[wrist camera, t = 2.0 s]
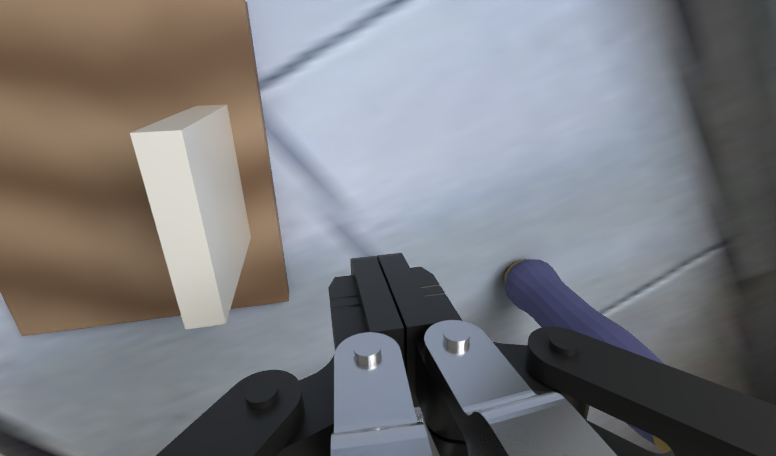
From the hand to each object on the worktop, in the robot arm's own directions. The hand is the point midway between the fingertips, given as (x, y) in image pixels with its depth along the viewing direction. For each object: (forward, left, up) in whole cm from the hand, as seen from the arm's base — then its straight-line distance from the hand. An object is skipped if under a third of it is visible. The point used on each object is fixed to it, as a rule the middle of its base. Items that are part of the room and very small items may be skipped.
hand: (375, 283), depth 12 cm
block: (0, -6, -14) cm, 15 cm away
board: (0, -12, -15) cm, 19 cm away
